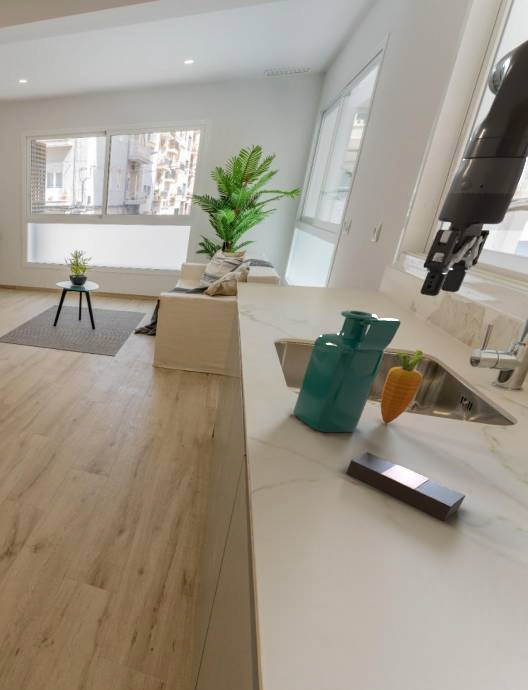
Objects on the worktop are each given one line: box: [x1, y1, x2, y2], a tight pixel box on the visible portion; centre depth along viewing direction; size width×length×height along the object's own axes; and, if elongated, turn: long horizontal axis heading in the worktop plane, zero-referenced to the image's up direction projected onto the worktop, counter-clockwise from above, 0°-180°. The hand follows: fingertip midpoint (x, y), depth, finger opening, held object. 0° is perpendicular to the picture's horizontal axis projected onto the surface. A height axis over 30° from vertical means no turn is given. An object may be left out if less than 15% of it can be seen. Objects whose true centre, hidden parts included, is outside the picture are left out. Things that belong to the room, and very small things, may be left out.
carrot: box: [380, 349, 423, 424], centre depth 80 cm, size 5×5×15 cm
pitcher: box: [293, 309, 401, 433], centre depth 77 cm, size 10×8×22 cm
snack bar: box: [346, 451, 466, 522], centre depth 63 cm, size 5×12×3 cm, turn 29°
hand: (439, 293), depth 73 cm, fingers open, 8 cm apart
